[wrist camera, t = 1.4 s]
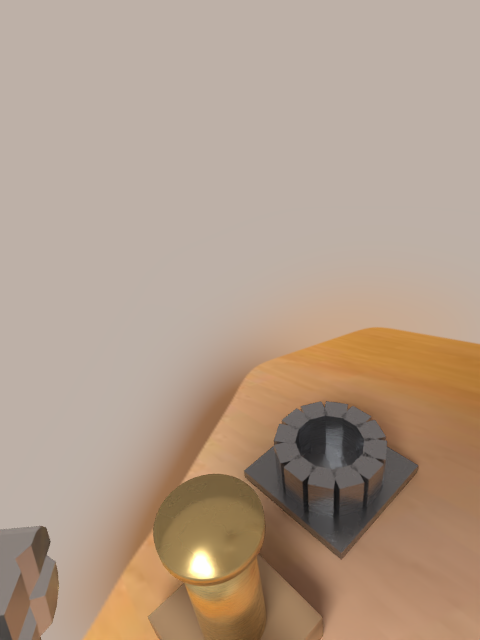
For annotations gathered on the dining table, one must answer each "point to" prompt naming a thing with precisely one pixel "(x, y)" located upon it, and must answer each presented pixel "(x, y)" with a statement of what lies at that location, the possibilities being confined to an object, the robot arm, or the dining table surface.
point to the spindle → (216, 553)
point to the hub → (331, 472)
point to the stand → (280, 602)
